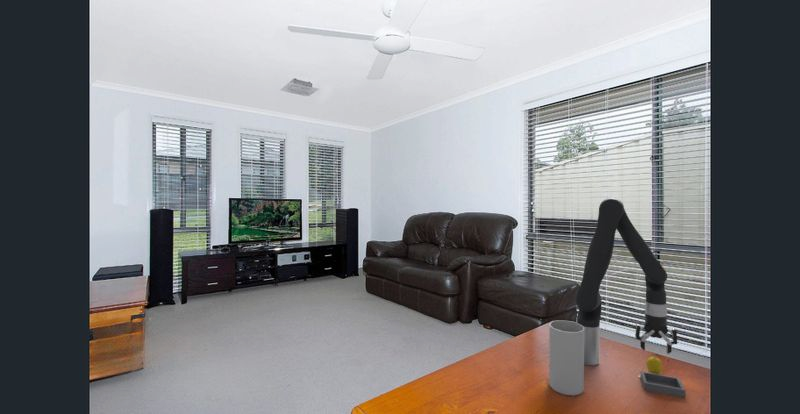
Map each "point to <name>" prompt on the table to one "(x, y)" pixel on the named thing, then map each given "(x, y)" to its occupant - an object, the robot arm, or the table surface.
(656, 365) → the lemon
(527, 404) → the table surface
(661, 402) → the table surface
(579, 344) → the cylinder vase
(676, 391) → the gray open tray
